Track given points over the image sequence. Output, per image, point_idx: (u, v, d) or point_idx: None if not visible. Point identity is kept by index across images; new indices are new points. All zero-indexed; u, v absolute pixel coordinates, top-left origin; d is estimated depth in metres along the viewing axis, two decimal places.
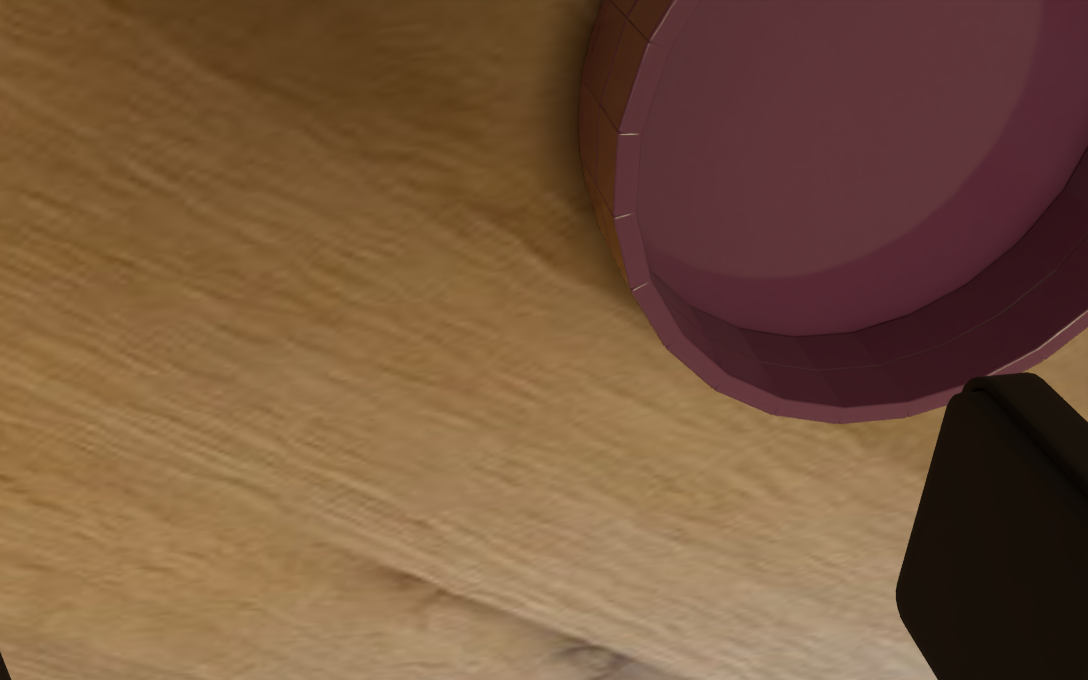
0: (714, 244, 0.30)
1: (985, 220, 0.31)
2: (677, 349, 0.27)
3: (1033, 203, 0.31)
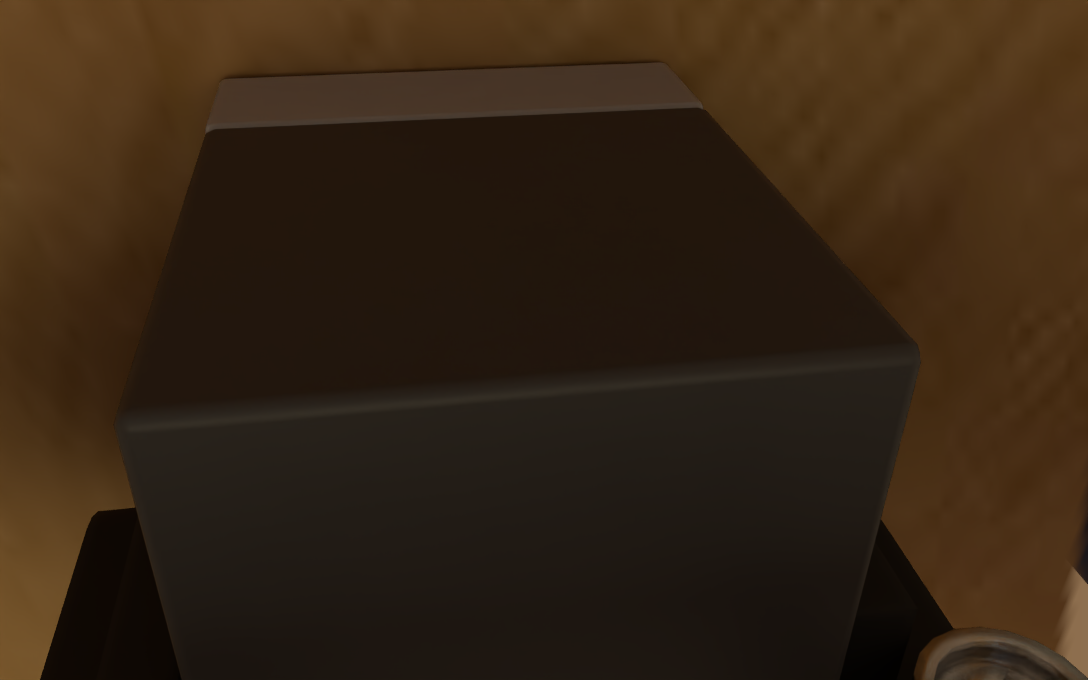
0: None
1: None
2: None
3: None
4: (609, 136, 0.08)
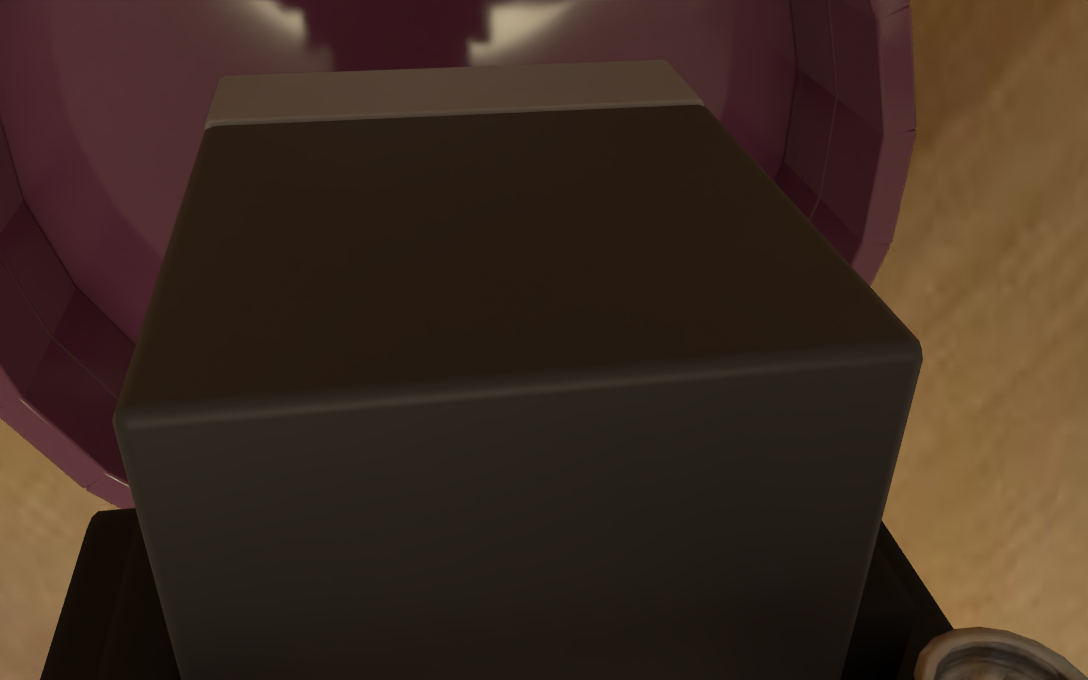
0: None
1: None
2: None
3: None
4: (609, 133, 0.08)
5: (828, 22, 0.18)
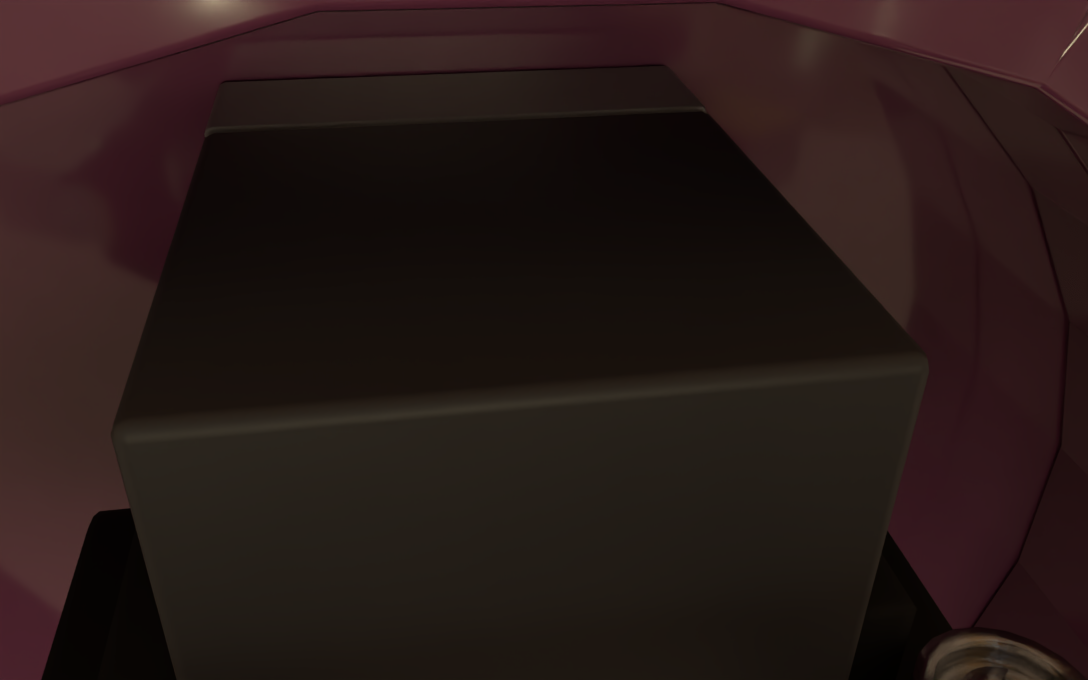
0: (32, 299, 0.09)
1: None
2: None
3: None
4: (611, 140, 0.08)
5: None
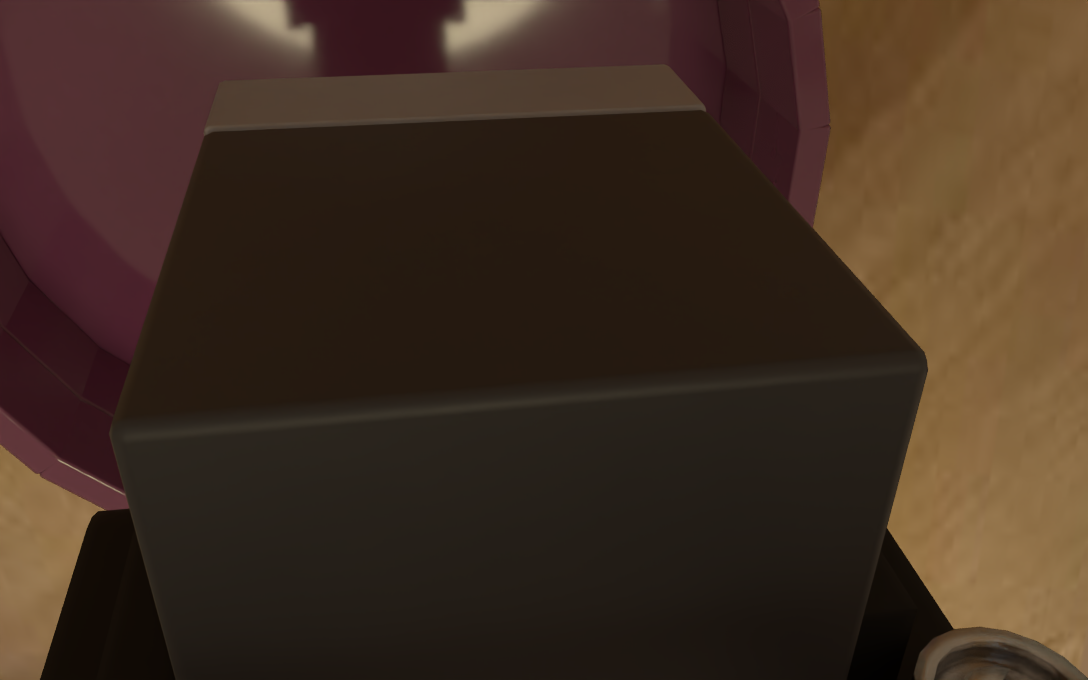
0: None
1: None
2: None
3: None
4: (611, 139, 0.07)
5: (749, 23, 0.19)
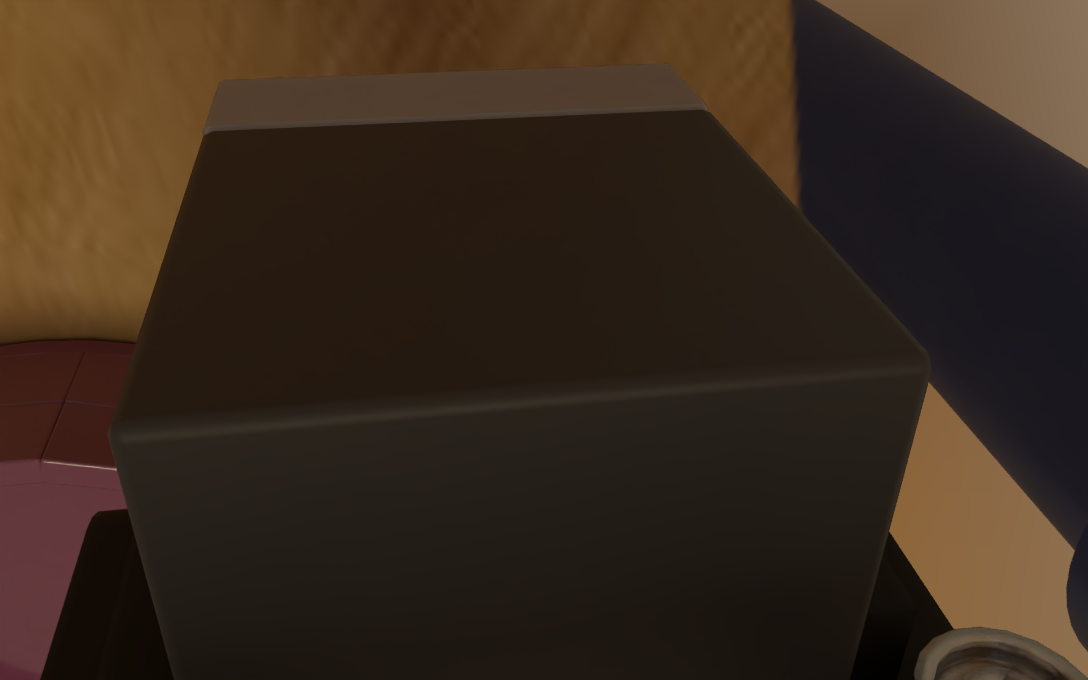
0: None
1: None
2: None
3: None
4: (612, 139, 0.07)
5: None
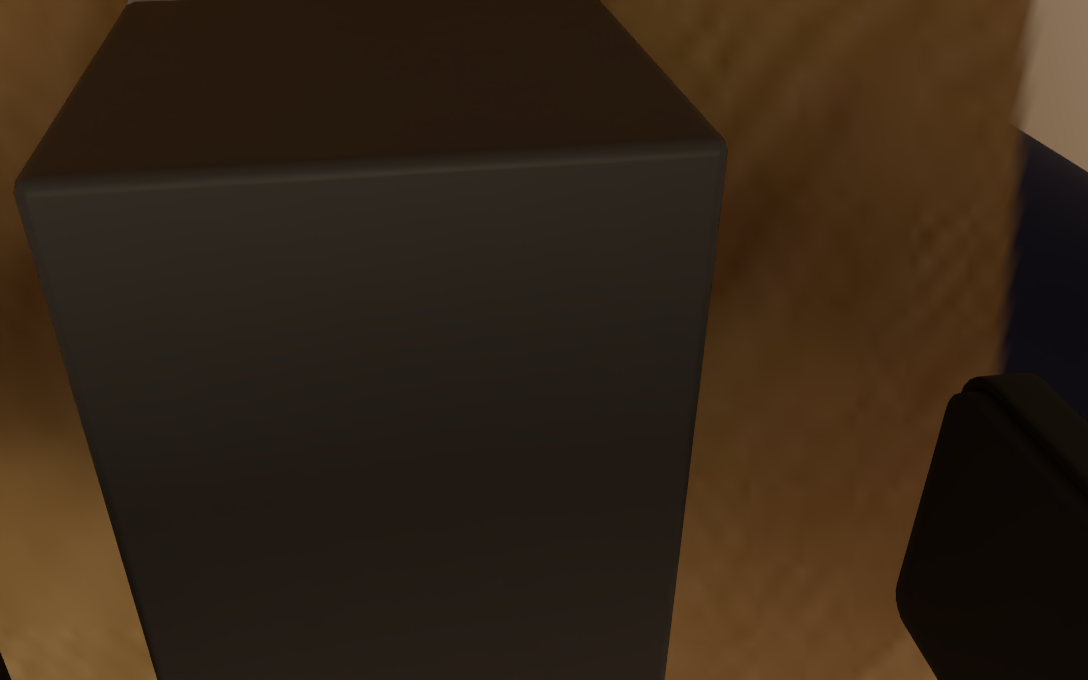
0: None
1: None
2: None
3: None
4: (495, 7, 0.08)
5: None
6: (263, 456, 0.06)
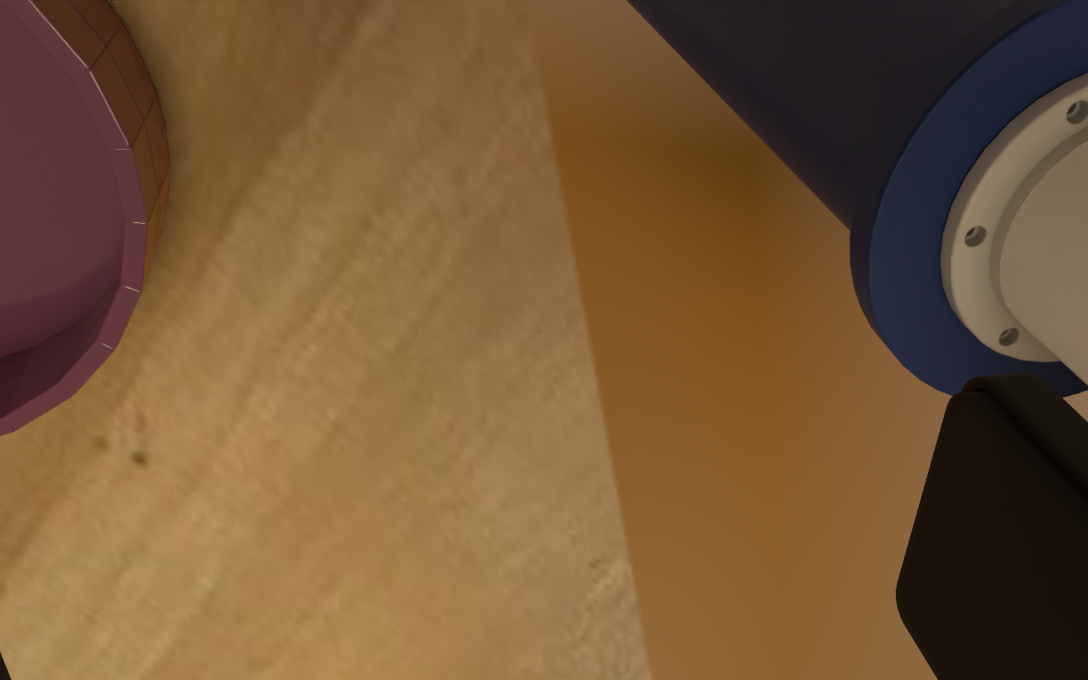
0: None
1: None
2: None
3: None
4: None
5: None
6: None
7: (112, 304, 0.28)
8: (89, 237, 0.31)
